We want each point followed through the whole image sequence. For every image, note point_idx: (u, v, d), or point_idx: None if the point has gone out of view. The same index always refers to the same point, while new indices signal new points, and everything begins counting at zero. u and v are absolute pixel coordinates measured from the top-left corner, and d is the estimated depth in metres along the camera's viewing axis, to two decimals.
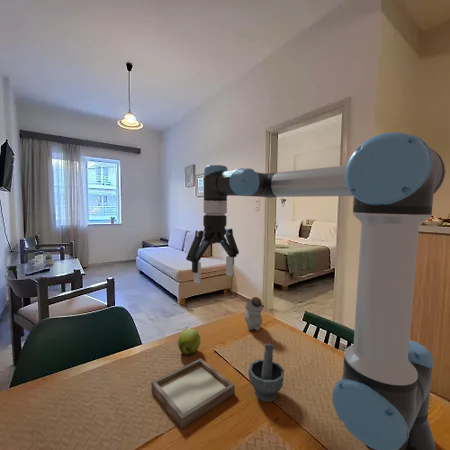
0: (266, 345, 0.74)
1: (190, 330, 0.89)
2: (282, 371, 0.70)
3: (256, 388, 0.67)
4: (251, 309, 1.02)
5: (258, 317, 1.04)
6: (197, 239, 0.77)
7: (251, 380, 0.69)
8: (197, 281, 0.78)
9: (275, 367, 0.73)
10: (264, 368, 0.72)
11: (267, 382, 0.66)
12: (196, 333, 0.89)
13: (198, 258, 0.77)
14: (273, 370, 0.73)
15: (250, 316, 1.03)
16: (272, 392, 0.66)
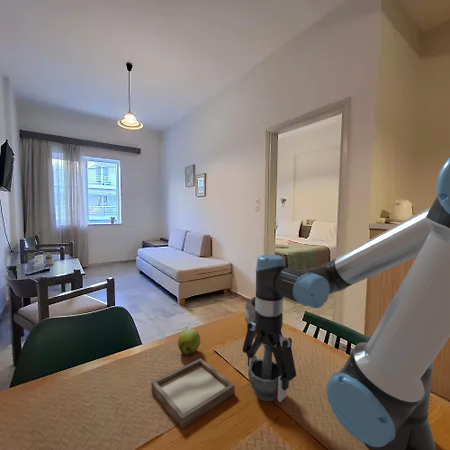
0: (266, 345, 0.74)
1: (190, 330, 0.89)
2: None
3: (256, 388, 0.68)
4: (251, 309, 1.02)
5: None
6: None
7: (251, 380, 0.69)
8: None
9: (275, 367, 0.73)
10: (264, 368, 0.72)
11: (266, 382, 0.66)
12: (196, 333, 0.89)
13: (249, 353, 0.74)
14: (273, 370, 0.74)
15: (250, 316, 1.03)
16: (271, 392, 0.67)
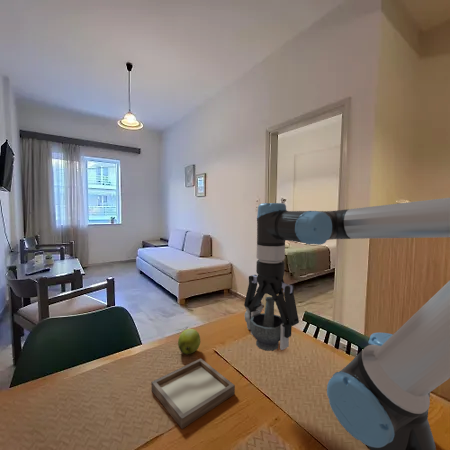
0: (267, 298, 0.73)
1: (190, 330, 0.89)
2: None
3: (257, 337, 0.66)
4: None
5: None
6: None
7: (252, 330, 0.68)
8: None
9: (277, 319, 0.72)
10: (265, 319, 0.70)
11: (269, 329, 0.65)
12: (196, 333, 0.89)
13: (251, 306, 0.73)
14: (275, 323, 0.72)
15: None
16: (274, 340, 0.65)
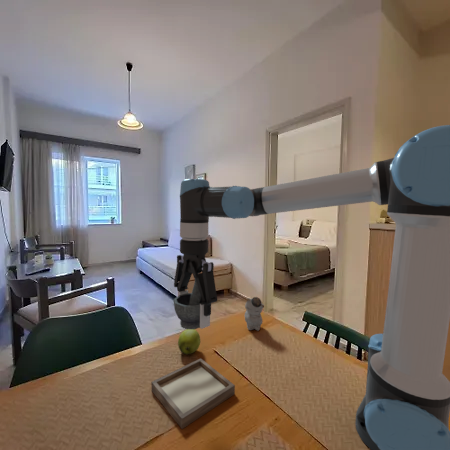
0: None
1: (190, 330, 0.89)
2: None
3: (178, 315, 0.65)
4: (251, 308, 1.02)
5: (258, 317, 1.04)
6: None
7: None
8: None
9: None
10: (191, 299, 0.69)
11: (187, 307, 0.64)
12: (196, 333, 0.89)
13: (178, 286, 0.72)
14: None
15: (250, 316, 1.03)
16: (193, 318, 0.64)
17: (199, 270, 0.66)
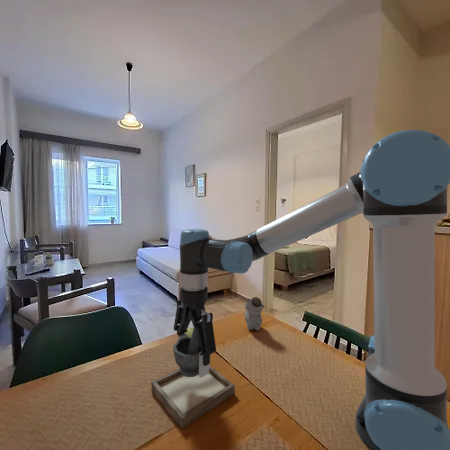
0: None
1: (190, 330, 0.89)
2: None
3: (178, 363, 0.66)
4: (251, 309, 1.02)
5: (258, 317, 1.04)
6: None
7: (174, 355, 0.68)
8: None
9: None
10: (190, 344, 0.70)
11: (187, 356, 0.65)
12: None
13: (178, 330, 0.73)
14: None
15: (250, 316, 1.03)
16: (193, 367, 0.65)
17: (198, 319, 0.67)
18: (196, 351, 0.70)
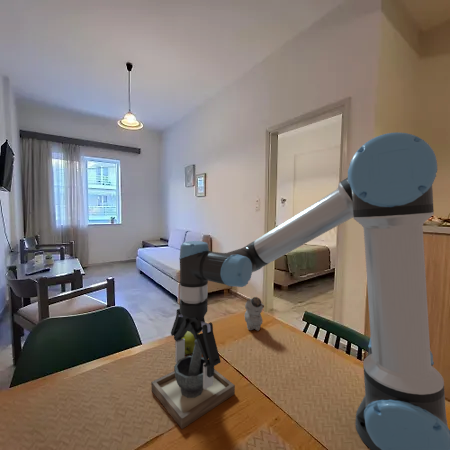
0: (195, 341, 0.73)
1: None
2: None
3: (179, 384, 0.66)
4: (251, 309, 1.02)
5: (258, 317, 1.04)
6: None
7: (175, 376, 0.68)
8: None
9: None
10: (191, 364, 0.71)
11: (188, 378, 0.65)
12: None
13: (175, 336, 0.74)
14: (202, 366, 0.72)
15: (250, 316, 1.03)
16: (194, 388, 0.65)
17: (199, 330, 0.67)
18: (197, 371, 0.70)
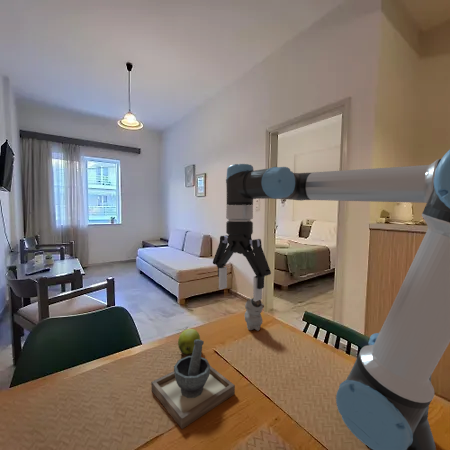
0: (195, 341, 0.73)
1: (190, 330, 0.89)
2: (208, 367, 0.69)
3: (179, 384, 0.66)
4: (251, 309, 1.02)
5: (258, 317, 1.04)
6: None
7: (175, 377, 0.68)
8: None
9: (203, 363, 0.72)
10: (191, 364, 0.71)
11: (188, 378, 0.65)
12: (196, 333, 0.89)
13: (219, 263, 0.77)
14: (202, 366, 0.73)
15: (250, 316, 1.03)
16: (194, 388, 0.65)
17: (247, 248, 0.70)
18: (197, 371, 0.70)
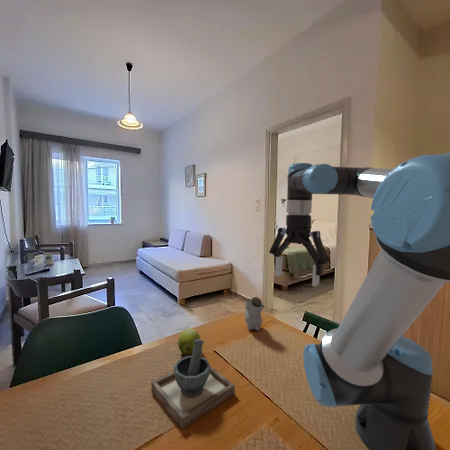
0: (195, 341, 0.73)
1: (190, 330, 0.89)
2: (208, 367, 0.69)
3: (179, 384, 0.66)
4: (251, 309, 1.02)
5: (258, 317, 1.04)
6: None
7: (175, 377, 0.68)
8: None
9: (203, 363, 0.72)
10: (191, 364, 0.71)
11: (188, 378, 0.65)
12: (196, 333, 0.89)
13: (276, 252, 0.85)
14: (202, 366, 0.73)
15: (250, 316, 1.03)
16: (194, 388, 0.65)
17: (306, 239, 0.78)
18: (197, 371, 0.70)
